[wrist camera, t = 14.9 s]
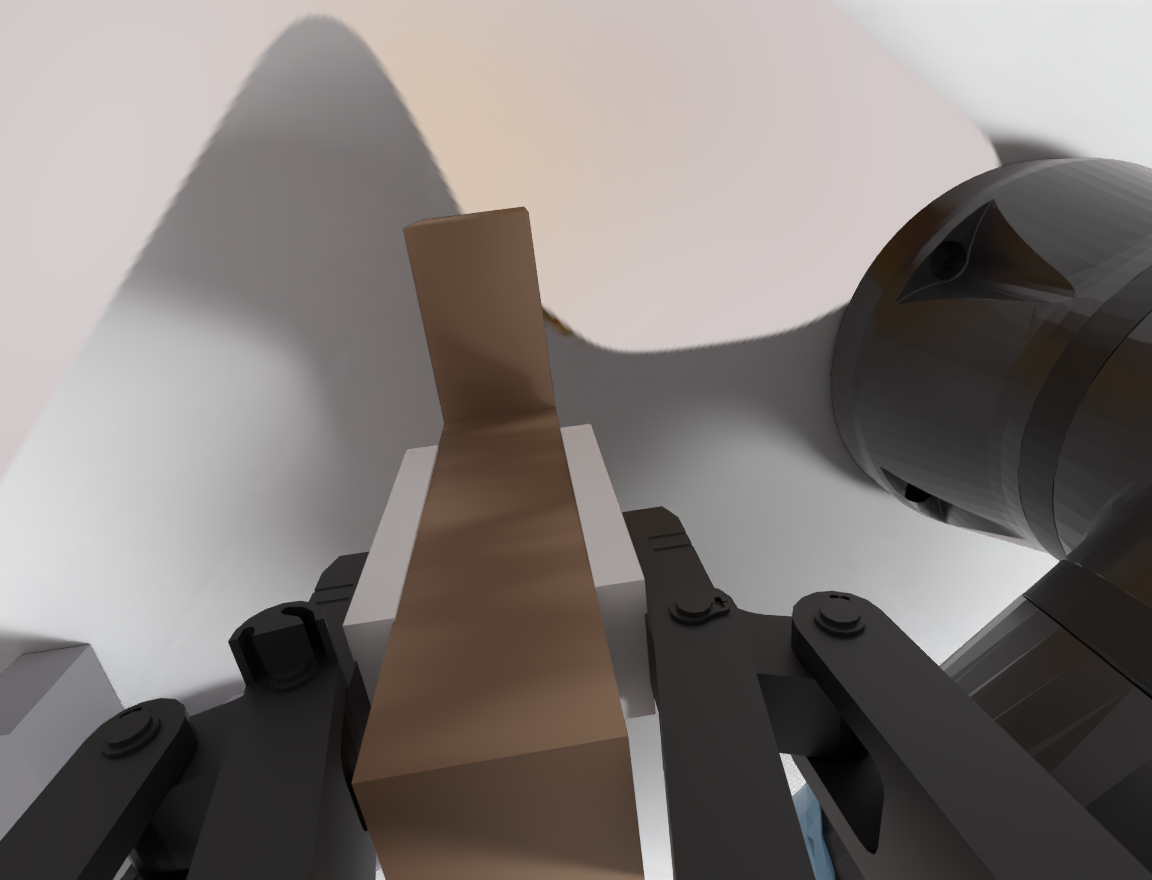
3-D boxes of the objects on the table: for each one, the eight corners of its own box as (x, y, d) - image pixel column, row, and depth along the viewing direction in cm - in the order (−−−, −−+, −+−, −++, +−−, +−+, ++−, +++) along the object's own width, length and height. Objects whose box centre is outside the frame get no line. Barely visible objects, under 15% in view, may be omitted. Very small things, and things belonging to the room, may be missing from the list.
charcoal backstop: (90, 644, 28) (9, 734, 24) (196, 849, 34) (148, 955, 29) (21, 654, 28) (-74, 747, 24) (139, 859, 34) (81, 966, 29)
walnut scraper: (524, 206, 19) (573, 268, 5) (575, 571, 24) (671, 1109, 10) (423, 219, 19) (185, 320, 5) (495, 584, 24) (481, 1147, 10)
